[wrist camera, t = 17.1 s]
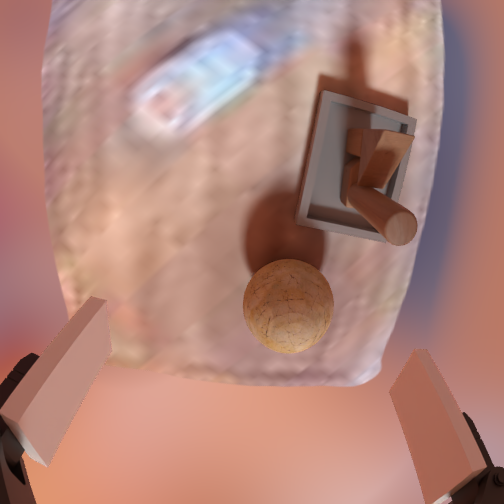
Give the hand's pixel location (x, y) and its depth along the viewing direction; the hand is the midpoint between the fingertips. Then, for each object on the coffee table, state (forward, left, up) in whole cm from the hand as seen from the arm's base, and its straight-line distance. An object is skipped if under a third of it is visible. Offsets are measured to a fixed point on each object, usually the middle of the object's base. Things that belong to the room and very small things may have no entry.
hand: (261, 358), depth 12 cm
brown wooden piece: (-6, +12, -34) cm, 36 cm away
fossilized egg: (+14, +6, -35) cm, 38 cm away
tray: (-6, +12, -35) cm, 37 cm away
